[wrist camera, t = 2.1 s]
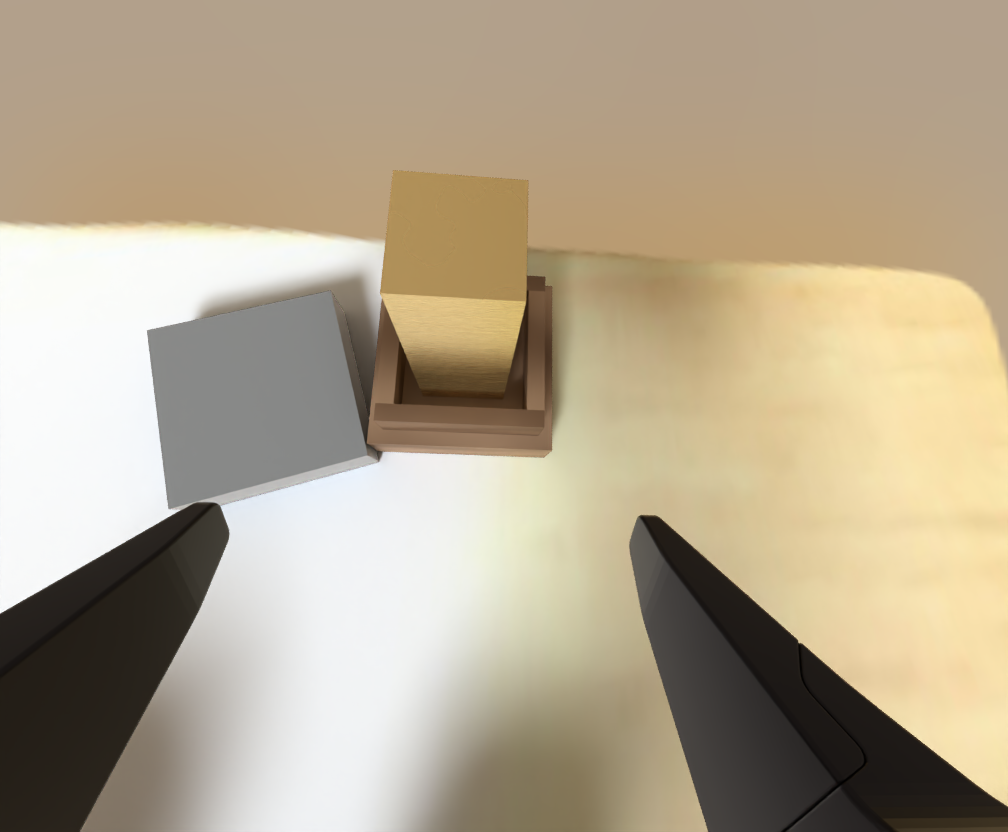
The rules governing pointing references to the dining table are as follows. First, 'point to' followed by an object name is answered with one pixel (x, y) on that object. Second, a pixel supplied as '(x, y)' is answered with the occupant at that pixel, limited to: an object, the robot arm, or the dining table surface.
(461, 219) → the brass bar
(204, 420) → the slate plinth
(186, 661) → the dining table surface
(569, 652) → the dining table surface
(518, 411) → the walnut holder
